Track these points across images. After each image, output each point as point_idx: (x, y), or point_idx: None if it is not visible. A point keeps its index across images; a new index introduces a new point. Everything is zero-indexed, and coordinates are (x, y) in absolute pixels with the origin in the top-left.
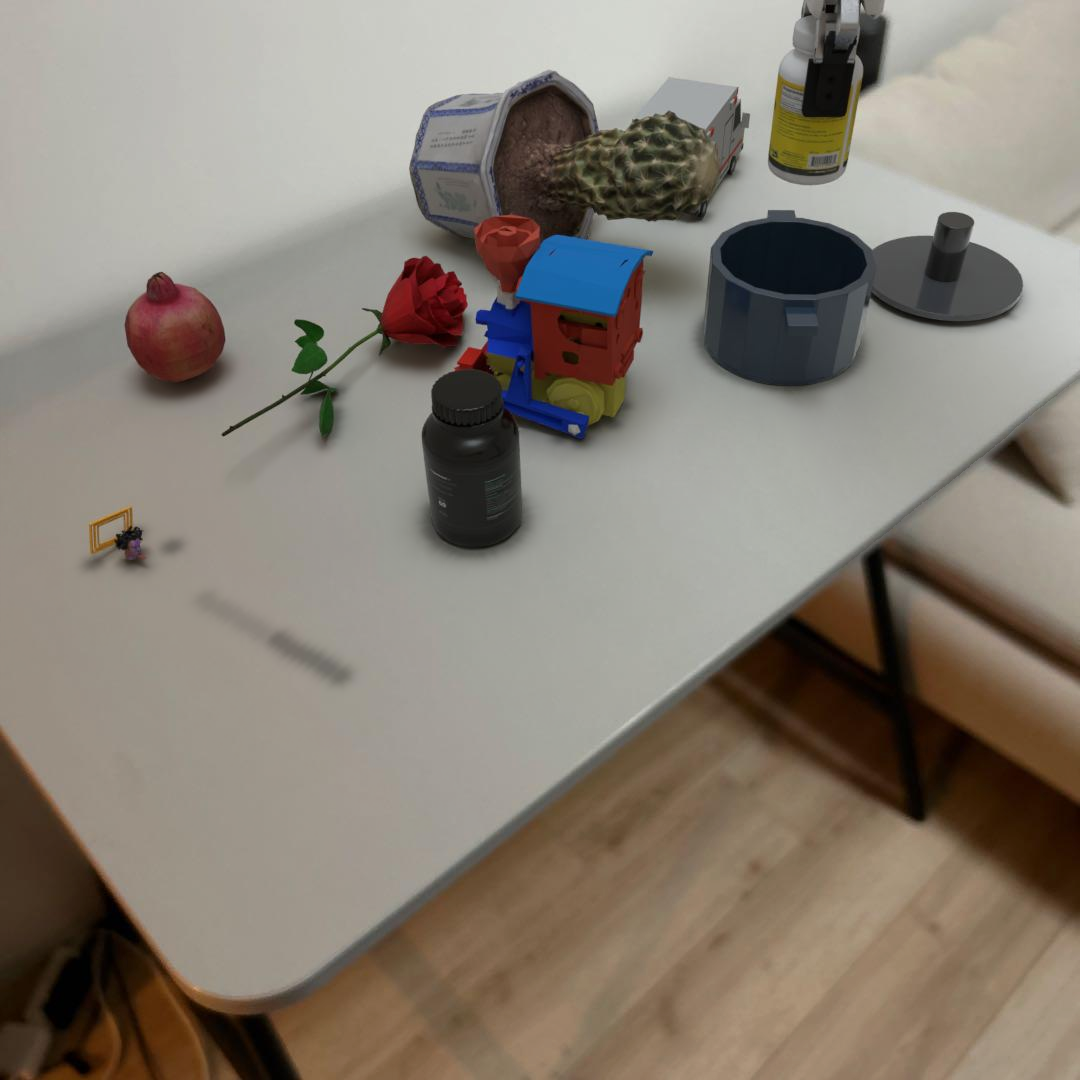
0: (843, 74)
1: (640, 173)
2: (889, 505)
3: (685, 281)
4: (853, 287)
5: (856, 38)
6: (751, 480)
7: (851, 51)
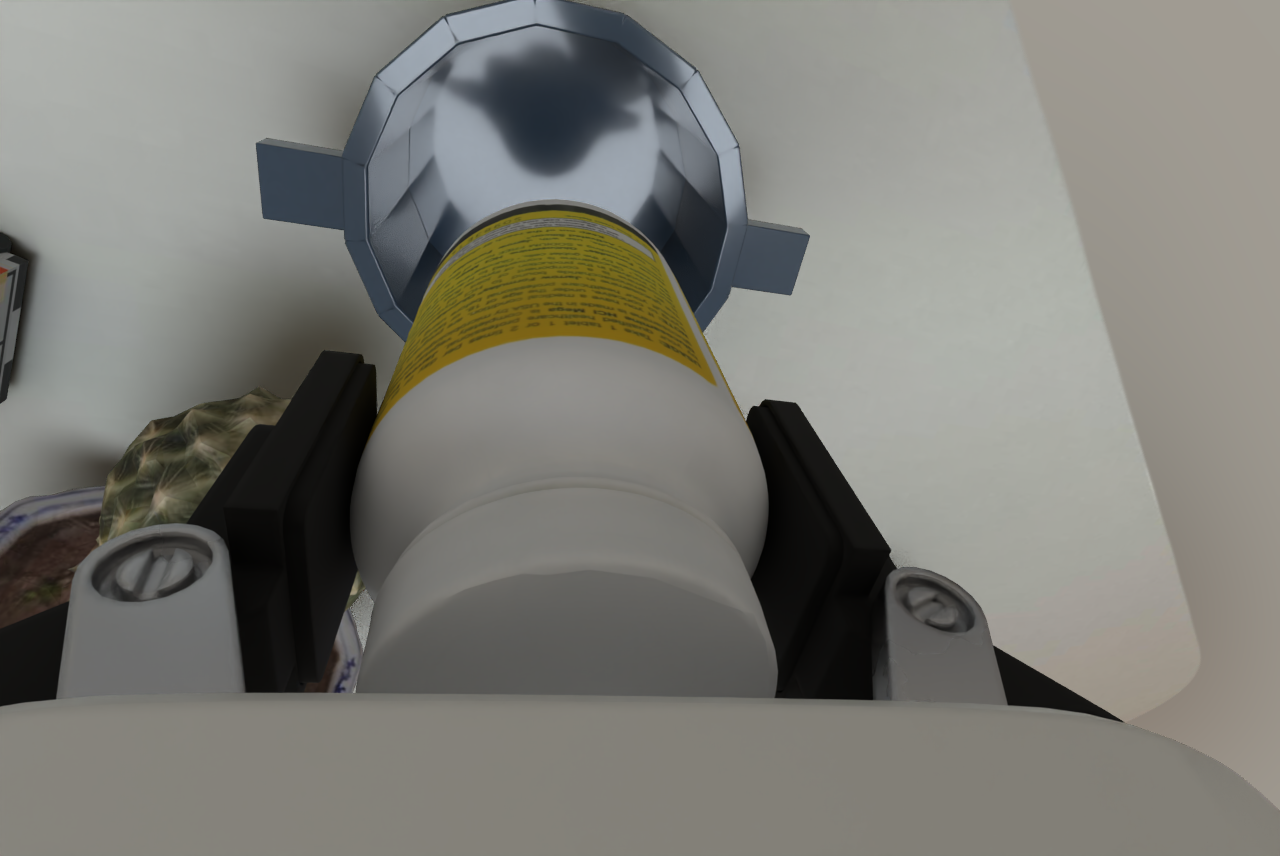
0: (895, 566)
1: (357, 593)
2: (1025, 121)
3: (321, 317)
4: (718, 123)
5: (1001, 689)
6: (896, 314)
7: (1075, 693)
